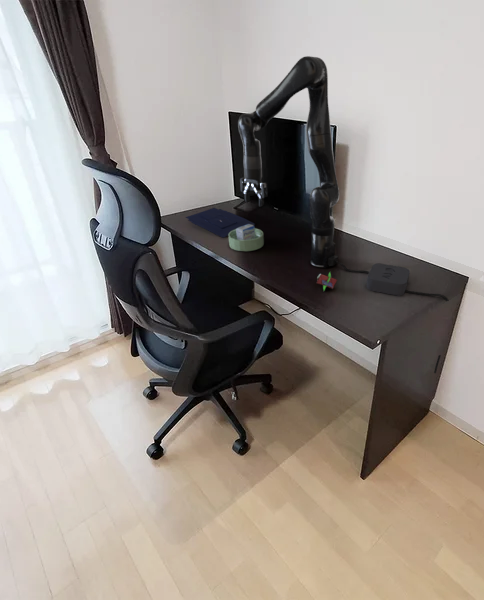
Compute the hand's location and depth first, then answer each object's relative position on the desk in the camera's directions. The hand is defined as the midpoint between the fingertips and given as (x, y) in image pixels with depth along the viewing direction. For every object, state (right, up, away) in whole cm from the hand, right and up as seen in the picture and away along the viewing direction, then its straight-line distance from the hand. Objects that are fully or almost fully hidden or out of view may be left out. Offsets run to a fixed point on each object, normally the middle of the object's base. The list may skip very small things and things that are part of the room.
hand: (254, 204), depth 163 cm
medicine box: (-5, -16, +12) cm, 21 cm away
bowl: (-5, -16, +12) cm, 21 cm away
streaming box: (+54, -37, -19) cm, 69 cm away
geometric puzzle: (+31, -38, -22) cm, 54 cm away
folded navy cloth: (-23, -3, +34) cm, 41 cm away
